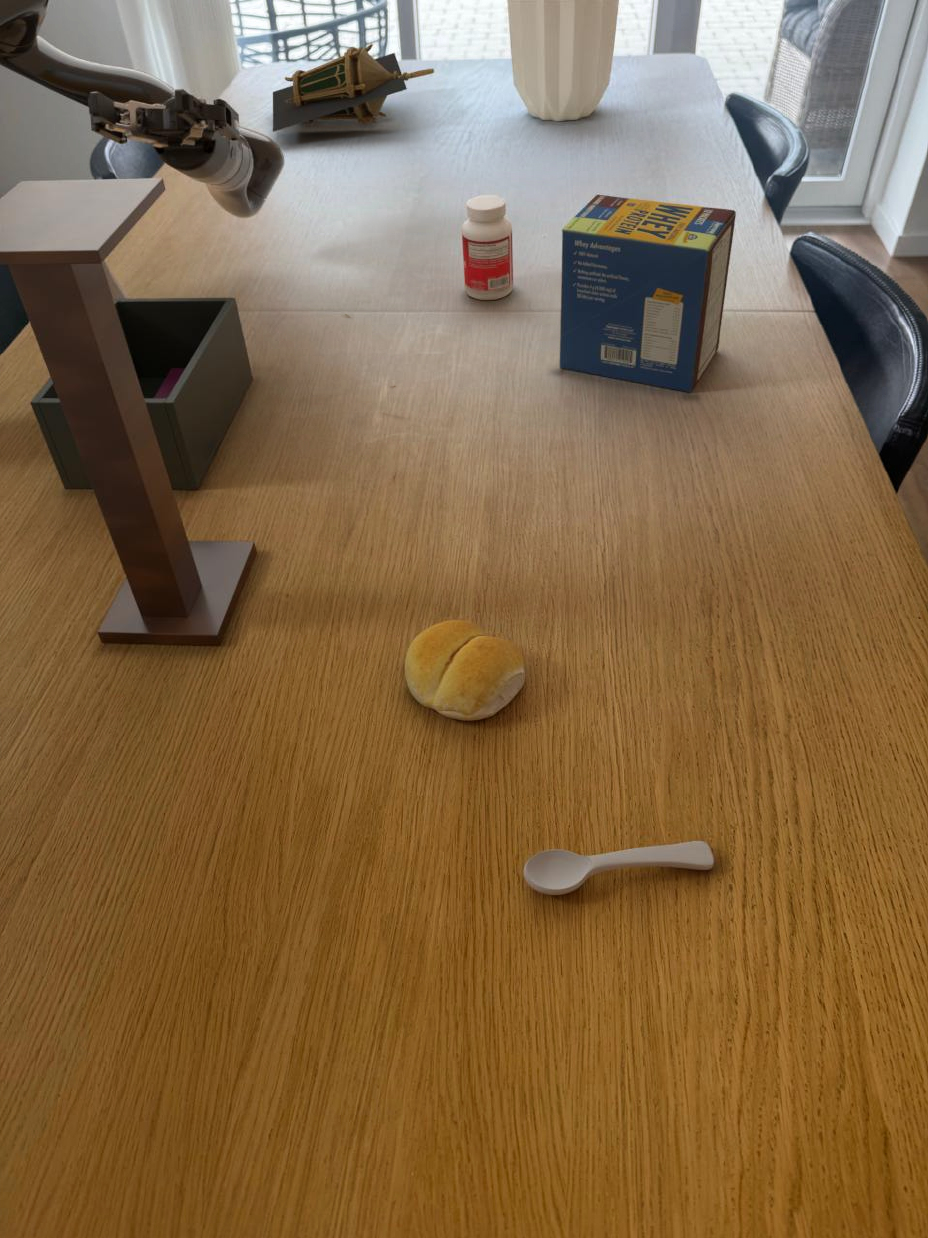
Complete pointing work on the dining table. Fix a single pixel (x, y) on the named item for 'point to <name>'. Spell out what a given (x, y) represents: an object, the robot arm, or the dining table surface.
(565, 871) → the spoon
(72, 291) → the shelf stand
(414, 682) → the bread roll
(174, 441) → the trash bin
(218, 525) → the dining table surface
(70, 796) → the dining table surface
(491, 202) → the pill bottle
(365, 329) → the dining table surface
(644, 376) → the protein box
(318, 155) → the dining table surface
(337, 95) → the lantern
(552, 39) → the vase
